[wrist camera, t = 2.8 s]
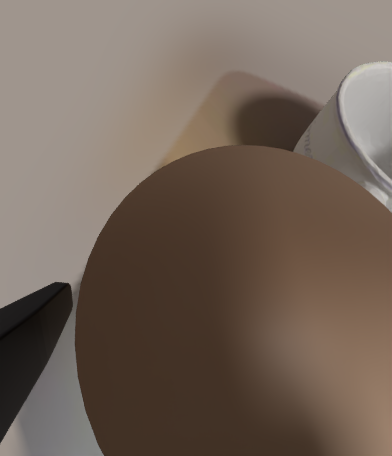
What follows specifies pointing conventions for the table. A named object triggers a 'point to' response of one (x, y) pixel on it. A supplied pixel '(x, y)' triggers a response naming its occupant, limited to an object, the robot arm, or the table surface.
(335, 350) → the canister
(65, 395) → the table surface
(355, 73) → the teacup
